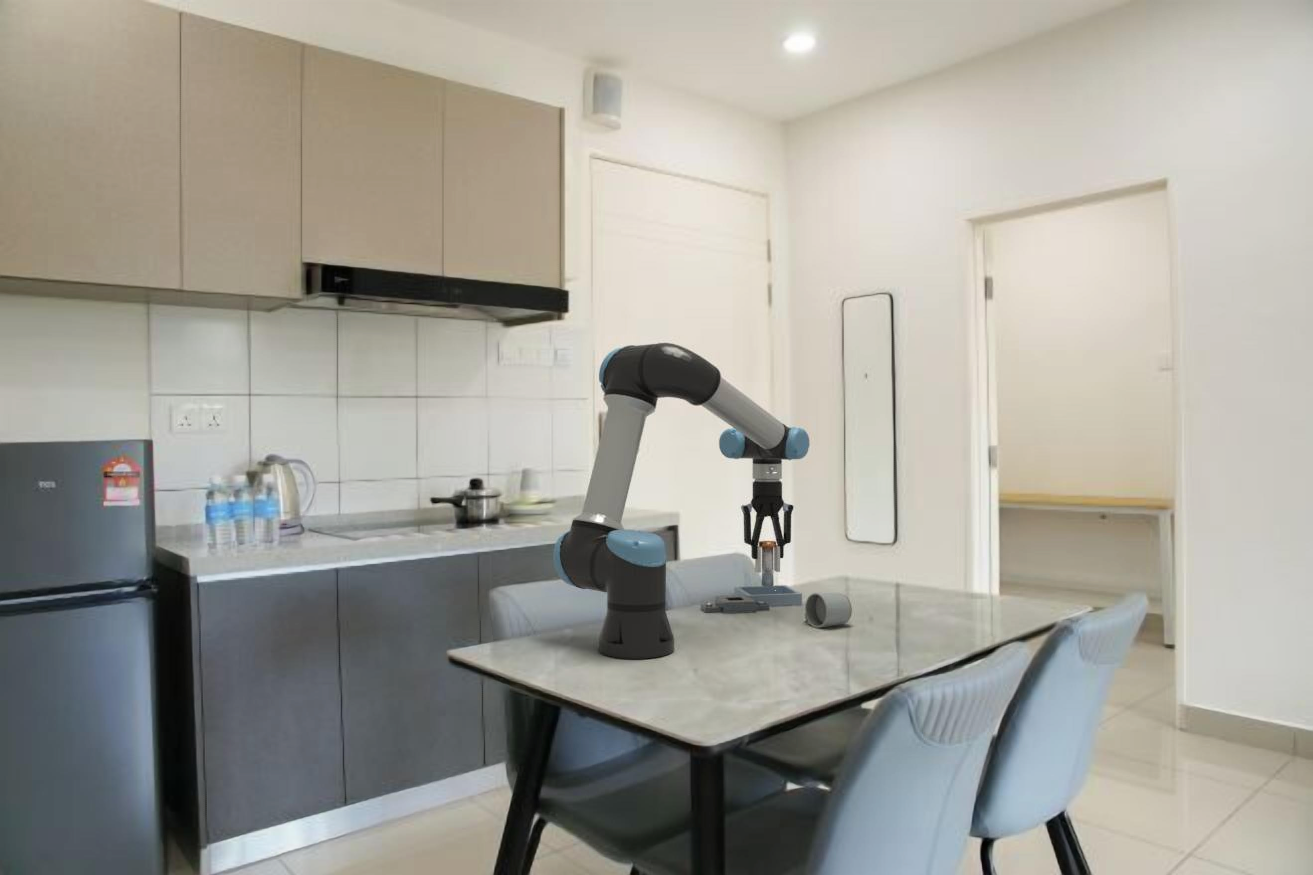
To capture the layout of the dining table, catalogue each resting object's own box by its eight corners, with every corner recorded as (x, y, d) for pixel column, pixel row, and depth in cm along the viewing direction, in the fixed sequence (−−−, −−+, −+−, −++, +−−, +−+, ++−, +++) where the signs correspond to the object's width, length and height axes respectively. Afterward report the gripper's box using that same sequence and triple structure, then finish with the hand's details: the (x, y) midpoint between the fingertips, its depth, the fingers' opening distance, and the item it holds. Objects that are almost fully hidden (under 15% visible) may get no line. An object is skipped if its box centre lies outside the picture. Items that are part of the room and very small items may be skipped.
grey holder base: (706, 613, 216) (706, 603, 216) (699, 607, 224) (699, 597, 224) (771, 611, 219) (771, 600, 219) (761, 605, 227) (761, 594, 227)
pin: (761, 587, 230) (761, 543, 229) (756, 584, 234) (756, 540, 234) (778, 586, 230) (778, 542, 230) (773, 583, 235) (773, 540, 235)
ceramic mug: (854, 626, 202) (854, 592, 202) (826, 630, 198) (826, 595, 198) (822, 619, 211) (822, 585, 211) (795, 622, 207) (795, 589, 207)
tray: (748, 606, 224) (748, 595, 224) (734, 597, 237) (734, 586, 237) (802, 604, 227) (801, 593, 227) (785, 595, 240) (785, 585, 240)
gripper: (738, 481, 227) (738, 574, 227) (804, 480, 230) (805, 572, 230) (730, 480, 234) (730, 570, 234) (795, 479, 237) (795, 568, 237)
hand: (767, 571), depth 232 cm, fingers closed on pin, 4 cm apart
